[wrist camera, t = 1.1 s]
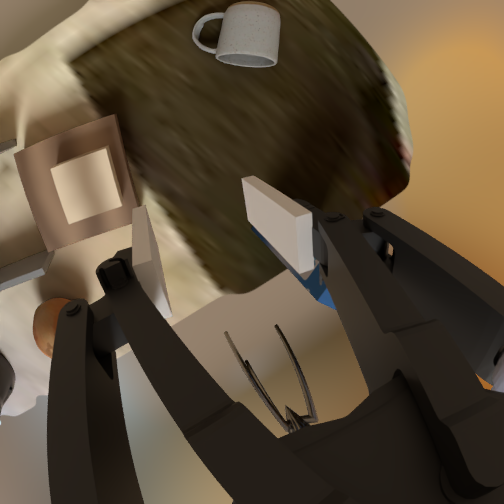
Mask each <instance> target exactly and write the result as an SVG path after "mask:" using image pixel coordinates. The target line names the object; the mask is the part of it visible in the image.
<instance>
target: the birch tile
mask: <svg viewBox="0 0 504 504" xmlns="http://www.w3.org/2000/svg"><path fill="white" fill-rule="evenodd" d="M50 170H51V173H52V176H53V180H54V183H55V186H56V189H57V192H58V195H59V198H60V201H61V204H62V207H63V210H64V213H65V215H66V218H67V221H68V224H72V223H74V222H77V221H80V220H83V219H86V218H88V217H91V216H94V215H97V214H100V213H103V212H106V211H109V210H112V209H115V208H118V207H121V206H122V203H123V197H122V193H121V190H120V186H119V183H118V179H117V176H116V172H115V168H114V165H113V161H112V157H111V153H110V149H109V145H108V146H105V147H102V148H99V149H96V150H93V151H90V152H88V153H85V154H82V155H79V156H77V157H74V158H71V159H69V160H66V161H64V162H61V163H59V164H56V165H55V166H54V167H52V168H51V169H50Z"/></svg>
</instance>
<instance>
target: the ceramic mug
mask: <svg viewBox="0 0 504 504" xmlns="http://www.w3.org/2000/svg"><path fill="white" fill-rule="evenodd" d="M215 18H223V22H222V28H221V32H220V36H219V41H218V45H217V48H216V49H211V48H208V47H206V46H203V45H202V44H201V43H200V42H199V41H198V38H199V35H200V31H201V29H202V28H203V26H204V23H205V22H206V21H208V20H211V19H215ZM279 33H280V14H279V12H278V11H277V10H276V9H275V8H274V7H272V6H270V5H268V4H265V3H261V2H254V1H242V2H237V3H234V4H232V5H231V6H229V7H228V8H227V10H226V12H225V13H211V14H208V15H205V16H203V17H202V18H201V19H199V20H198V21H197V23H196V24H195V26H194V29H193V32H192V38H193V40H194V42H195V43H196V45H197V46H198V47H199V48H201V49H202V50H204V51H207V52H210V53H214V54H216V59H218V60H219V61H221V62H224V63H228V64H233V65H238V66H247V67H269V66H273V65H275V64H276V63H277V59H278V46H279Z"/></svg>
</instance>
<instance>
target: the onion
mask: <svg viewBox="0 0 504 504" xmlns="http://www.w3.org/2000/svg"><path fill="white" fill-rule="evenodd" d="M69 301H71V300H68V299H65V298H53V299H50V300H48V301H46V302H44V303H43V304H41V305H40V306H38V308H37V309H36V311H35V314H34V321H33V335H34V339H35V341H36V344H37V346H38V347H39V349H40V350H41V351H42V352H43V353H44V354H45V355H47V356H48V357H50V358H51V359H52V353H53V345H54V339H55V332H56V326H57V320H58V315H59V312H60V310H61V309H62V308H63V306H64V305H65V304H66V303H68V302H69Z"/></svg>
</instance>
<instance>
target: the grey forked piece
mask: <svg viewBox="0 0 504 504" xmlns="http://www.w3.org/2000/svg"><path fill="white" fill-rule="evenodd" d="M275 328H276V330H277V332H278V334H279V336H280V338H281V340H282V342H283V344H284V346H285V348H286V350H287V352H288V354H289V357H290V359H291V361H292V364H293V366H294V368H295V371H296V374H297V376H298V379H299V382H300V385H301V388H302V391H303V394H304V398H305V402H306V406H307V410H308V415H304V416H299V415H298V414H297V413H295V412H294V411H293V410H291V409H290V408H289V407H287V406H286V405H285V409H286V419H287V421H285V420H284V418H283V417H282V415H281V414H280V412H279V411H278V409H277V408H276V406H275V405H274V404H273V402H272V400H271V399H270V397H269V396H268V394H267V392H266V391H265V389H264V387H263V386H262V384H261V383H260V381H259V379H258V378H257V376H256V374H255V372H254V371H253V369H252V367H251V365H250V364H249V362H248V360H245V362H244V361H243V359H242V357H241V356H240V354H239V352H238V350H237V349H236V347H235V345H234V343H233V341H232V340H231V338H230V336H229V334H228V332H224V334H225V336H226V339H227V341H228V343H229V345H230V347H231V349H232V351H233V353H234V355H235V357H236V359H237V360H238V362H239V364H240V366H241V368H242V369H243V371H244V373H245V374H246V376H247V378H248V379H249V381H250V382H251V384H252V386H253V387H254V389H255V390H256V392H257V393H258V395H259V396H260V398H261V399H262V400H263V402H264V403H265V405H266V406H267V407H268V409H269V410H270V411H271V413H272V414H273V416H274V417H275V418H276V419H277V421H278V422H279V423H280V425H281V426H282V427H283V429H284V430H285V431H286V432H288V433H289V434H290V433H292V432H294V431H297V430H299V429H301V428H303V427H307V426H311V425H310V424H309V423H315V422H318V417H317V413H316V410H315V406H314V403H313V400H312V396H311V394H310V391H309V388H308V385H307V382H306V380H305V377H304V375H303V372H302V370H301V368H300V365H299V363H298V361H297V359H296V357H295V355H294V353H293V351H292V349H291V347H290V345H289V343H288V342H287V340H286V338H285V336H284V334H283V333H282V331H281V329H280V328H279V326H278V325H277V324H276V325H275ZM245 363H246V364H245ZM246 365H247V366H246Z"/></svg>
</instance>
